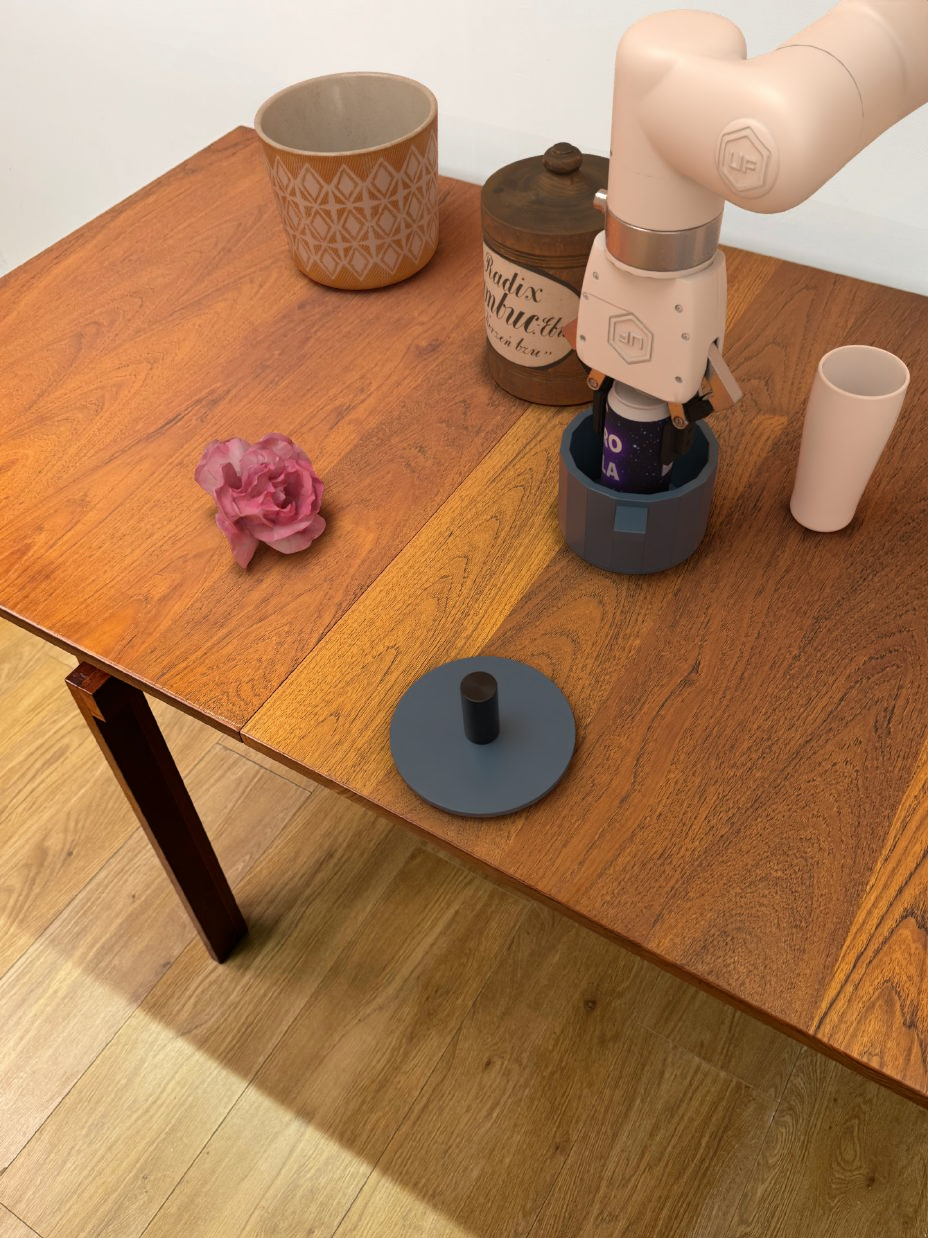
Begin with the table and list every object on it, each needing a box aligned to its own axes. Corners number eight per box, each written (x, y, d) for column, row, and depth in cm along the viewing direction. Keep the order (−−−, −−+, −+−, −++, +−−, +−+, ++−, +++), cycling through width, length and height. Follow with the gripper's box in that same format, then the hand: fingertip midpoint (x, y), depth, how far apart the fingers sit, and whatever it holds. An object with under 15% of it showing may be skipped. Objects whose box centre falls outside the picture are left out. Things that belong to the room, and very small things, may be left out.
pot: (708, 458, 92) (721, 382, 85) (701, 606, 80) (715, 533, 74) (571, 447, 94) (573, 372, 87) (545, 590, 82) (546, 517, 76)
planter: (446, 297, 110) (434, 148, 98) (274, 304, 111) (240, 158, 99) (449, 208, 123) (439, 65, 110) (294, 215, 124) (266, 75, 111)
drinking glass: (869, 540, 84) (922, 397, 72) (788, 542, 84) (828, 400, 73) (850, 485, 88) (898, 341, 77) (773, 487, 89) (809, 345, 77)
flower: (344, 540, 92) (348, 518, 82) (245, 585, 90) (237, 568, 80) (291, 429, 92) (289, 394, 82) (191, 472, 90) (176, 442, 81)
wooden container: (457, 361, 103) (442, 148, 86) (560, 302, 109) (565, 92, 92) (558, 428, 95) (563, 209, 78) (663, 361, 101) (689, 143, 84)
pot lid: (584, 675, 77) (588, 620, 72) (563, 834, 68) (565, 785, 63) (412, 655, 79) (404, 601, 74) (371, 807, 70) (358, 757, 65)
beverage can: (628, 468, 88) (639, 354, 78) (680, 499, 85) (698, 384, 76) (586, 502, 85) (592, 388, 76) (638, 534, 82) (651, 420, 73)
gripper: (525, 214, 68) (526, 422, 82) (748, 298, 60) (708, 511, 74) (590, 169, 71) (581, 376, 85) (808, 243, 64) (759, 457, 78)
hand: (640, 437), depth 80 cm, fingers closed on beverage can, 5 cm apart
